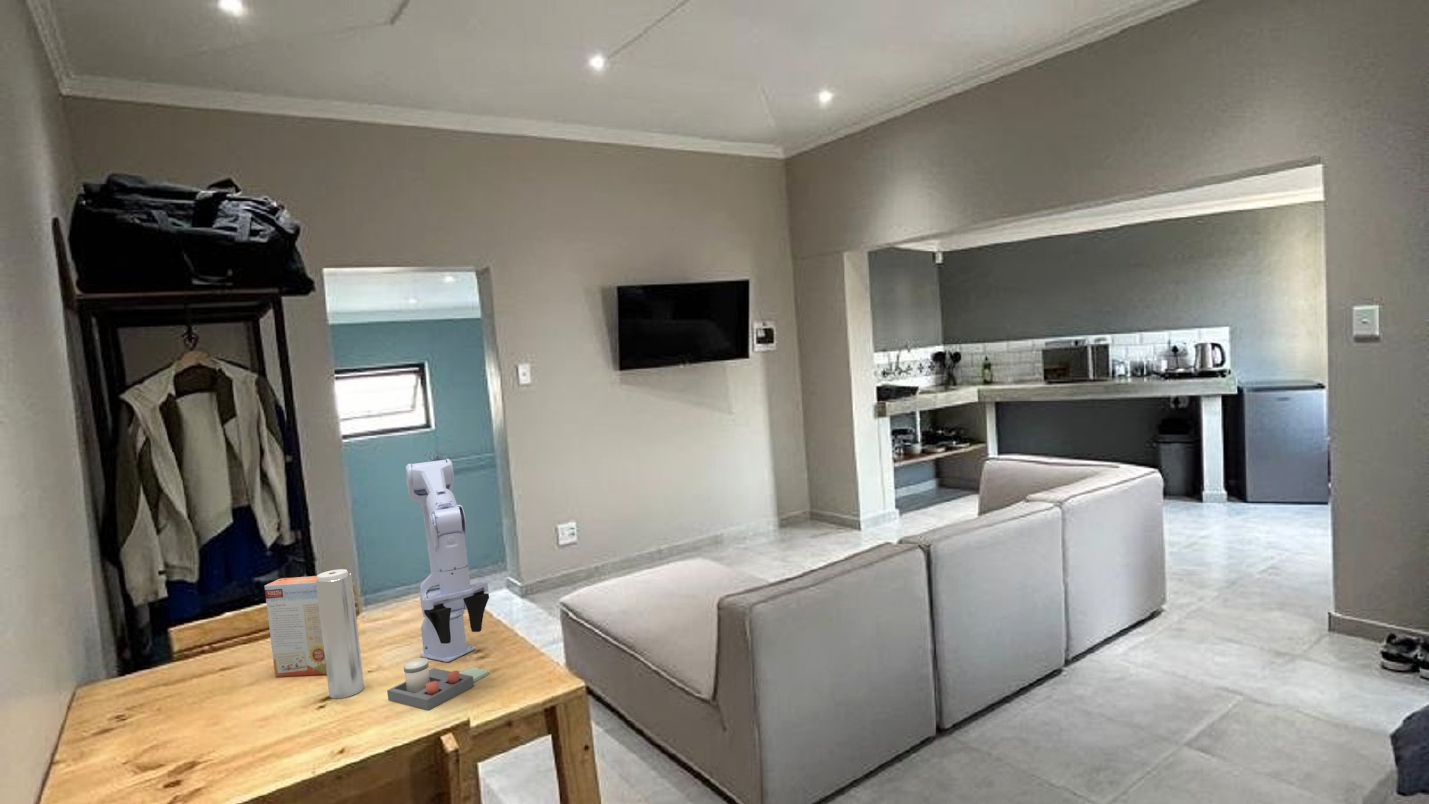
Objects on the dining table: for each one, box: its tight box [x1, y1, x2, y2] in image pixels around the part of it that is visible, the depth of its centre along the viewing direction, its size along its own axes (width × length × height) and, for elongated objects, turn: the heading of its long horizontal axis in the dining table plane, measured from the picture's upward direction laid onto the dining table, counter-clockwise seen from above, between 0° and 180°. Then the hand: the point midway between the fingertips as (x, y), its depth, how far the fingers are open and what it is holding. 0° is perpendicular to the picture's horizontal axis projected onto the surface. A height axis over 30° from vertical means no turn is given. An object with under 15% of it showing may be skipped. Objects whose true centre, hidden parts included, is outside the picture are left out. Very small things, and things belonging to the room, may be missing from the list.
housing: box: [386, 667, 475, 711], centre depth 148 cm, size 12×11×2 cm
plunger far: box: [447, 670, 460, 685], centre depth 148 cm, size 2×2×2 cm
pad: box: [459, 667, 490, 683], centre depth 155 cm, size 6×5×1 cm
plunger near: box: [426, 681, 439, 696], centre depth 144 cm, size 2×2×2 cm
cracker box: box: [263, 575, 327, 678], centre depth 165 cm, size 14×6×21 cm, turn 84°
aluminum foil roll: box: [316, 568, 365, 700], centre depth 152 cm, size 6×6×25 cm
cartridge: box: [403, 657, 430, 693], centre depth 148 cm, size 5×5×6 cm
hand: (461, 637), depth 147 cm, fingers open, 7 cm apart
